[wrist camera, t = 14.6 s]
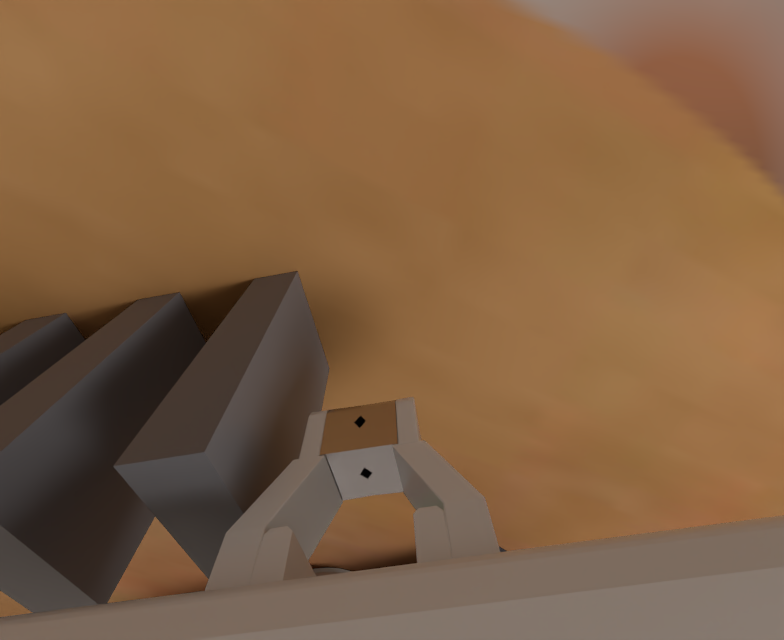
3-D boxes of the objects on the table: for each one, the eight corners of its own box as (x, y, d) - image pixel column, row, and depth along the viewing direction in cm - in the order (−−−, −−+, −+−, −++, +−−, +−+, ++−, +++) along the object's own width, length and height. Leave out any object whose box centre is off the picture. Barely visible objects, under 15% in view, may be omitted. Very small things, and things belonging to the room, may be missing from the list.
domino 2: (179, 292, 15) (-43, 490, 7) (227, 385, 17) (103, 609, 9) (138, 299, 15) (-127, 503, 7) (192, 391, 17) (39, 617, 10)
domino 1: (297, 271, 14) (203, 452, 7) (329, 368, 17) (288, 584, 9) (254, 278, 15) (112, 466, 7) (292, 374, 17) (220, 593, 9)
